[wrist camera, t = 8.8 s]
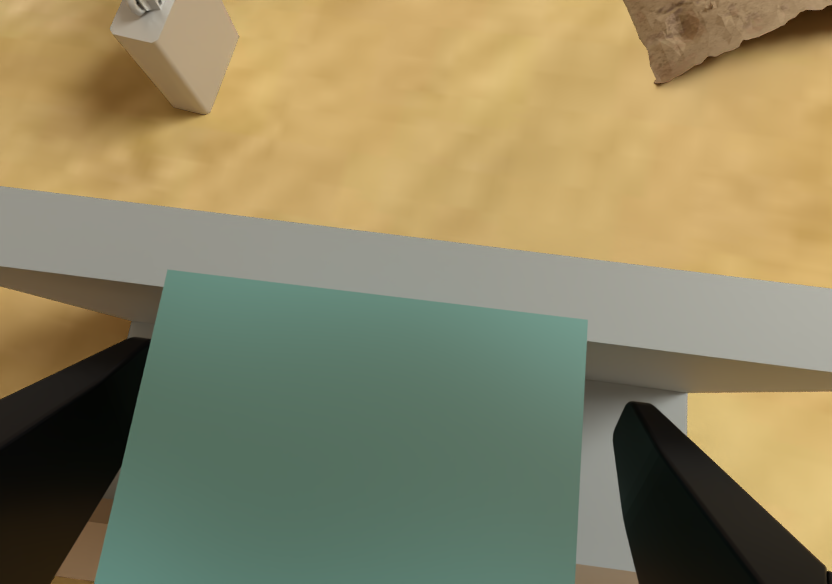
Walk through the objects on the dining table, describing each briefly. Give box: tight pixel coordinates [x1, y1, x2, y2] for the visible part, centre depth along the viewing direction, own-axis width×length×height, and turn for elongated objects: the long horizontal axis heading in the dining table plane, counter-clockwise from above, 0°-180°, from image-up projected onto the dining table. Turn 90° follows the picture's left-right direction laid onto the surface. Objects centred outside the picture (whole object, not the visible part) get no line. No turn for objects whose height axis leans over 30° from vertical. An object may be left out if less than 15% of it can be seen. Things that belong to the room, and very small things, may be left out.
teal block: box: [94, 270, 588, 584], centre depth 11 cm, size 4×4×12 cm
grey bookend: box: [0, 186, 832, 584], centre depth 13 cm, size 11×20×10 cm, turn 83°
